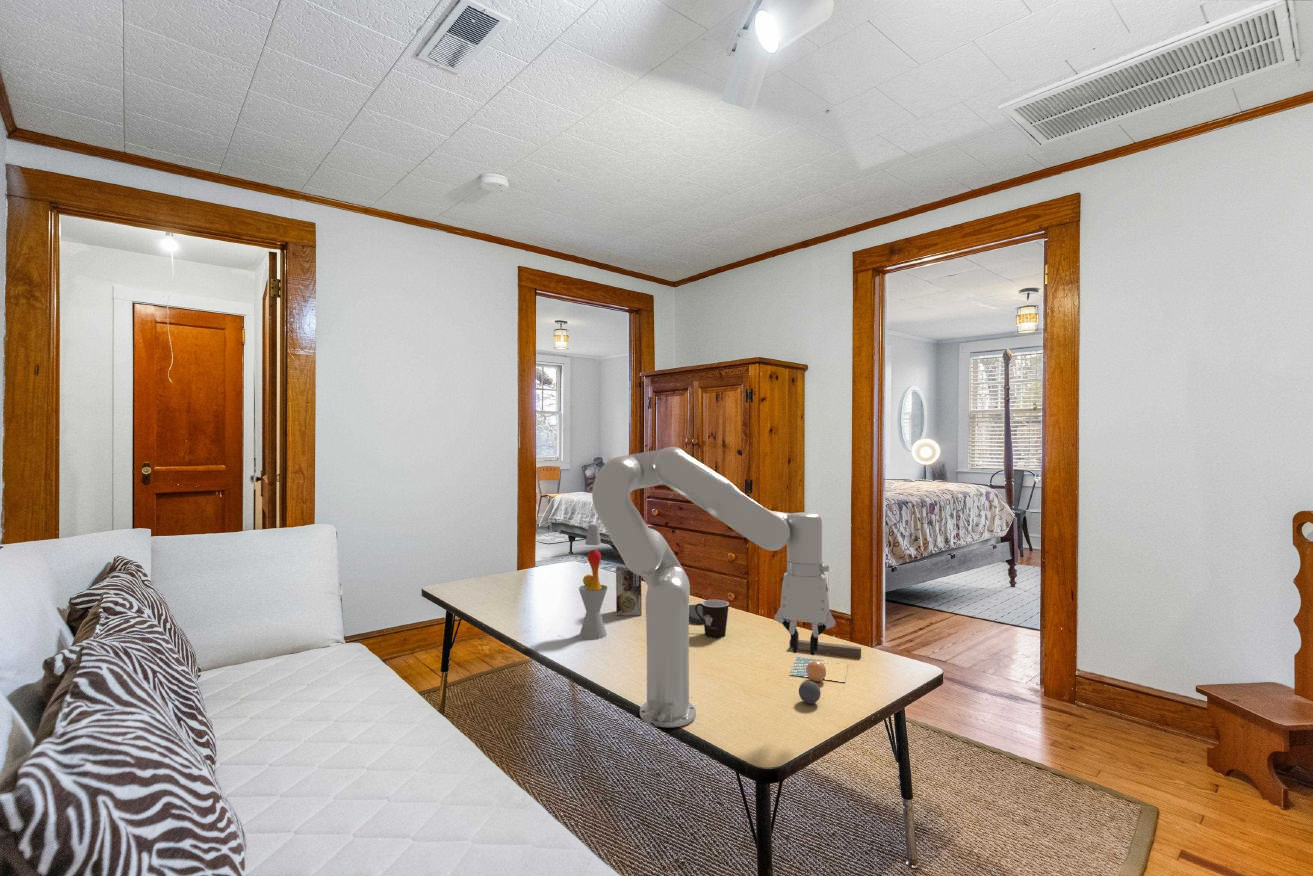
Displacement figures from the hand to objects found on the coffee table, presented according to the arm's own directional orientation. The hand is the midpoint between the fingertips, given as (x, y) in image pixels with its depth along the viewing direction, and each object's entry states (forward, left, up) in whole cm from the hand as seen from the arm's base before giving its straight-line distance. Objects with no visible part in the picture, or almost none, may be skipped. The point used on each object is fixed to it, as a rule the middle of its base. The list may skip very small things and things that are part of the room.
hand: (804, 651), depth 135 cm
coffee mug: (+50, +35, -15) cm, 63 cm away
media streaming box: (+66, +44, -16) cm, 81 cm away
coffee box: (+62, +69, -15) cm, 94 cm away
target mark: (+32, 0, -15) cm, 35 cm away
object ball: (+24, 0, -13) cm, 27 cm away
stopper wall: (+46, 0, -15) cm, 48 cm away
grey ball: (+10, 0, -13) cm, 16 cm away
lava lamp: (+36, +70, -15) cm, 80 cm away
